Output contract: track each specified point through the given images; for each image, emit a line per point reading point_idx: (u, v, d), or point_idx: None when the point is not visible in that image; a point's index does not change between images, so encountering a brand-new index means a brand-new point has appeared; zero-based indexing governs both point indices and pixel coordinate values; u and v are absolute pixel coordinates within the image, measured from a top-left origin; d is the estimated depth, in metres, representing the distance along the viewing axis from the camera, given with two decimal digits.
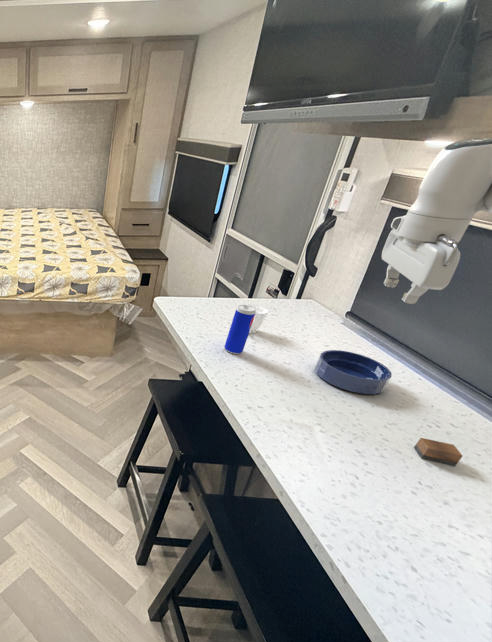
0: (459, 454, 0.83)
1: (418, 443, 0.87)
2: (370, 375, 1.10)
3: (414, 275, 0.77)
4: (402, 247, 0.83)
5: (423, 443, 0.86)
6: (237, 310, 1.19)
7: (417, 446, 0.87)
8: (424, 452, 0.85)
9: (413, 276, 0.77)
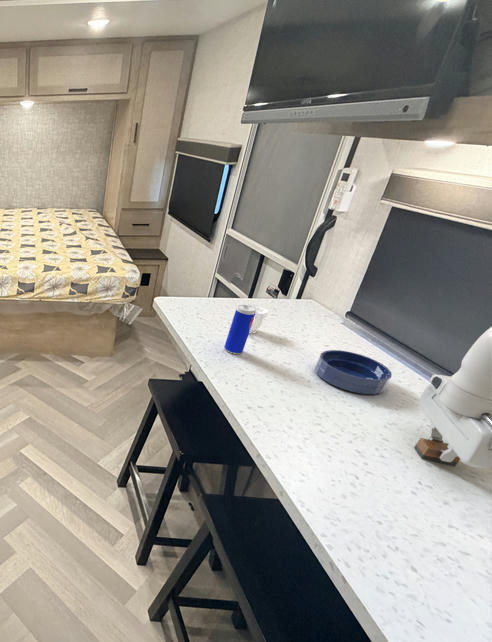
0: None
1: (418, 443, 0.87)
2: (370, 375, 1.10)
3: (457, 448, 0.78)
4: (442, 407, 0.84)
5: (423, 443, 0.86)
6: (237, 310, 1.19)
7: (417, 446, 0.87)
8: (424, 452, 0.85)
9: (456, 448, 0.78)
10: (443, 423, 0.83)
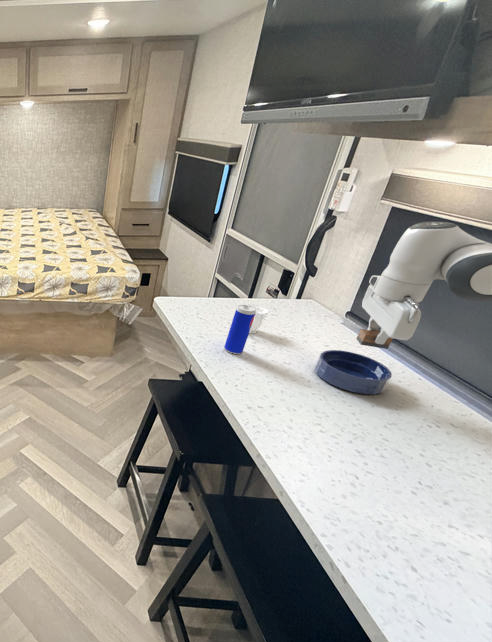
0: (390, 338, 1.00)
1: (359, 334, 1.05)
2: (370, 375, 1.10)
3: (386, 327, 0.96)
4: (377, 300, 1.02)
5: (362, 332, 1.03)
6: (237, 310, 1.19)
7: (358, 336, 1.05)
8: (363, 339, 1.03)
9: (385, 327, 0.96)
10: (377, 312, 1.00)
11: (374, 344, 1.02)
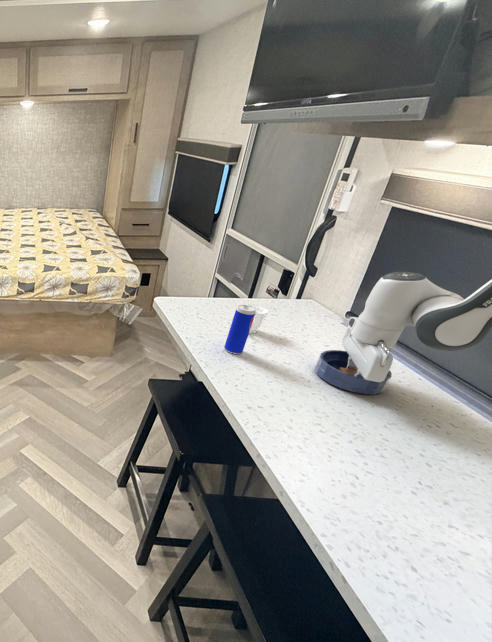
0: None
1: None
2: None
3: (361, 369, 1.02)
4: (355, 341, 1.08)
5: (341, 370, 1.09)
6: (237, 310, 1.19)
7: None
8: None
9: (361, 369, 1.02)
10: (355, 353, 1.06)
11: None
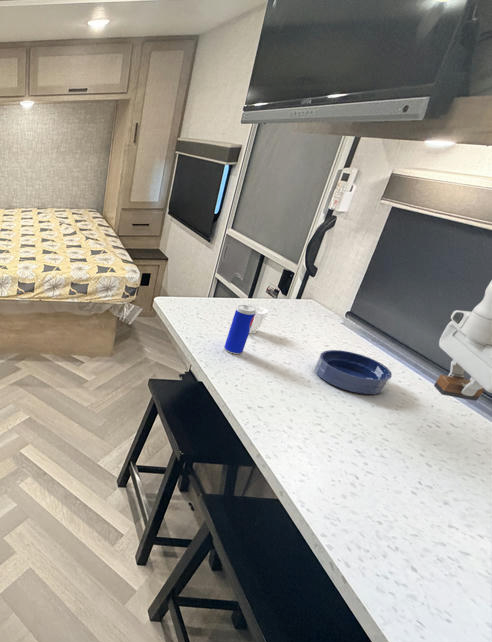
0: None
1: (438, 380, 0.87)
2: (370, 375, 1.10)
3: (481, 377, 0.77)
4: (463, 341, 0.84)
5: (443, 379, 0.85)
6: (237, 310, 1.19)
7: (437, 383, 0.87)
8: (445, 388, 0.84)
9: (479, 378, 0.78)
10: (465, 357, 0.82)
11: (459, 394, 0.84)
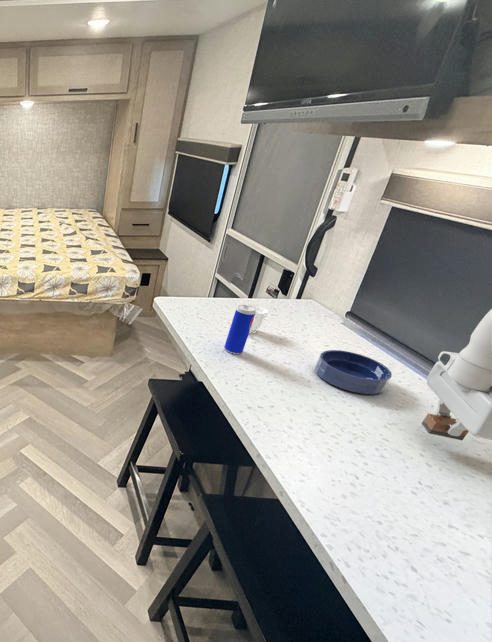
0: None
1: (426, 419, 0.89)
2: (370, 375, 1.10)
3: (466, 421, 0.80)
4: (450, 382, 0.86)
5: (431, 418, 0.88)
6: (237, 310, 1.19)
7: (425, 422, 0.89)
8: (432, 427, 0.87)
9: (464, 421, 0.80)
10: (451, 398, 0.85)
11: (446, 434, 0.86)
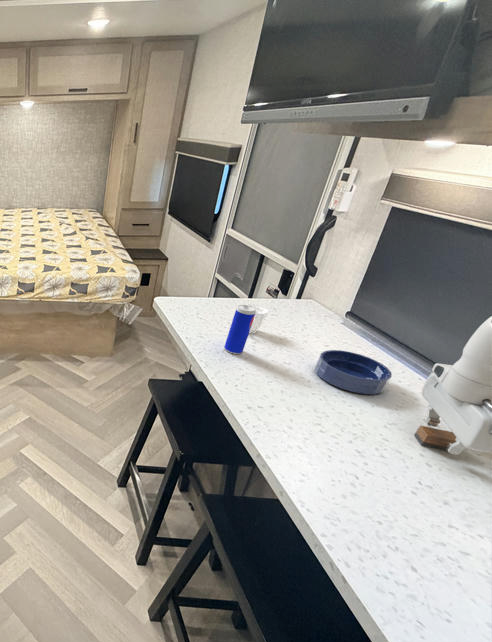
0: None
1: (418, 431, 0.91)
2: (370, 375, 1.10)
3: (459, 433, 0.81)
4: (444, 394, 0.87)
5: (423, 430, 0.89)
6: (237, 310, 1.19)
7: (417, 434, 0.91)
8: (424, 439, 0.88)
9: (458, 433, 0.81)
10: (445, 410, 0.86)
11: (437, 446, 0.88)
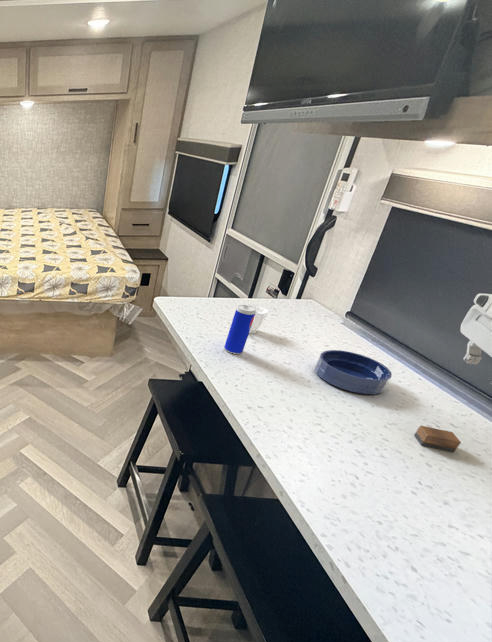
0: (457, 441, 0.86)
1: (418, 431, 0.91)
2: (370, 375, 1.10)
3: None
4: (488, 326, 0.79)
5: (423, 430, 0.89)
6: (237, 310, 1.19)
7: (417, 434, 0.91)
8: (424, 439, 0.88)
9: None
10: (490, 342, 0.78)
11: (437, 446, 0.88)
